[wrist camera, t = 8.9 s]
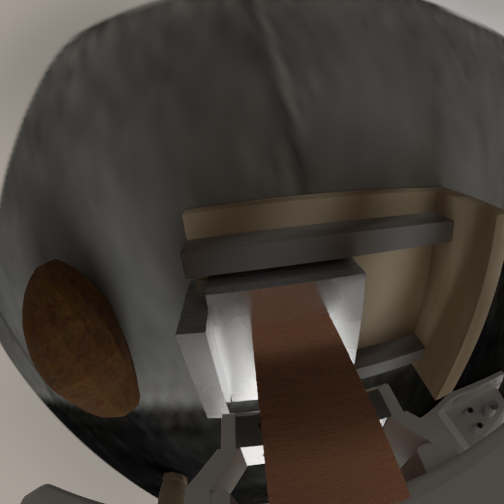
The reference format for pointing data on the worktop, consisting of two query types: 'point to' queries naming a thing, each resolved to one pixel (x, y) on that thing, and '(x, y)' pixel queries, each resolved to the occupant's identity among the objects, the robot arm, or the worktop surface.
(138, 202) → the worktop surface
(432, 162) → the worktop surface
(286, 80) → the worktop surface
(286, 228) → the frame
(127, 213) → the worktop surface
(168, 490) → the handle
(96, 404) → the potato
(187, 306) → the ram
